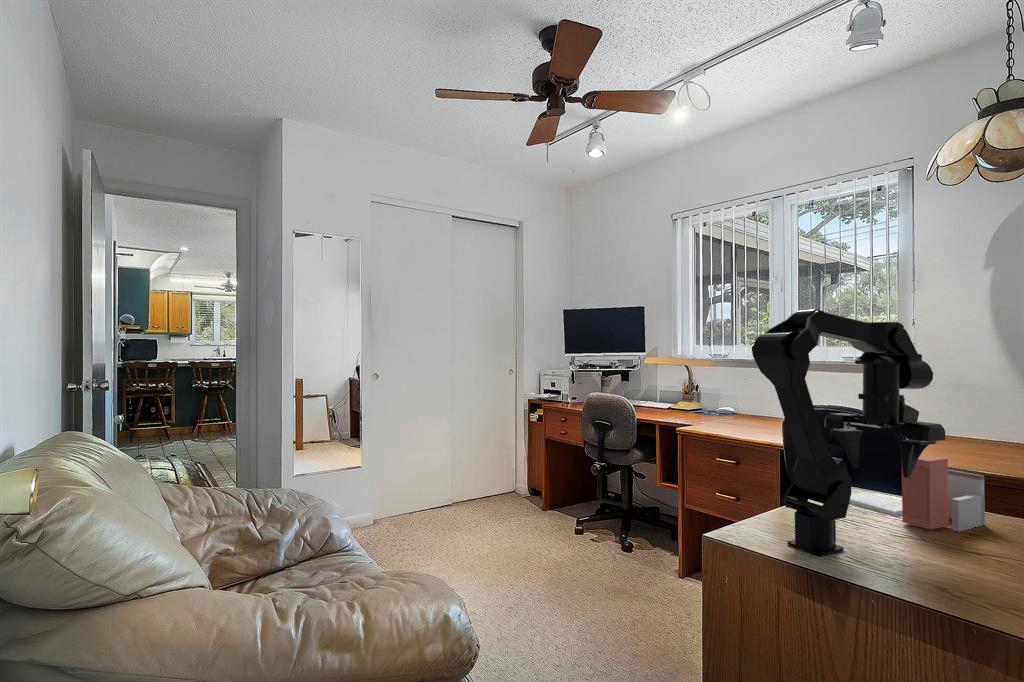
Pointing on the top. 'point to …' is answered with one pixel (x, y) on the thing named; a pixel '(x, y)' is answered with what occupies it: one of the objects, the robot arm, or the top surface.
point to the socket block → (966, 500)
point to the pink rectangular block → (926, 493)
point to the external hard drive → (877, 503)
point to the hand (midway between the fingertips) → (880, 472)
